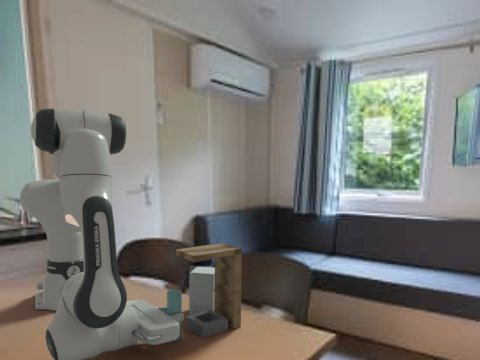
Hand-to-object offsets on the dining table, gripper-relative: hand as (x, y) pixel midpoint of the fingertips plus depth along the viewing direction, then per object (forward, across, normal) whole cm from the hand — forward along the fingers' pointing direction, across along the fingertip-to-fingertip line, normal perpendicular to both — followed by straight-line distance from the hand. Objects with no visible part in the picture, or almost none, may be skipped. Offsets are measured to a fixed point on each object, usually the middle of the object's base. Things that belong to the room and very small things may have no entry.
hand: (177, 312), depth 97 cm
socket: (+9, 0, +6) cm, 11 cm away
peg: (-1, 0, +6) cm, 7 cm away
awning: (+9, 0, +6) cm, 11 cm away
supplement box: (+15, +10, +7) cm, 20 cm away
